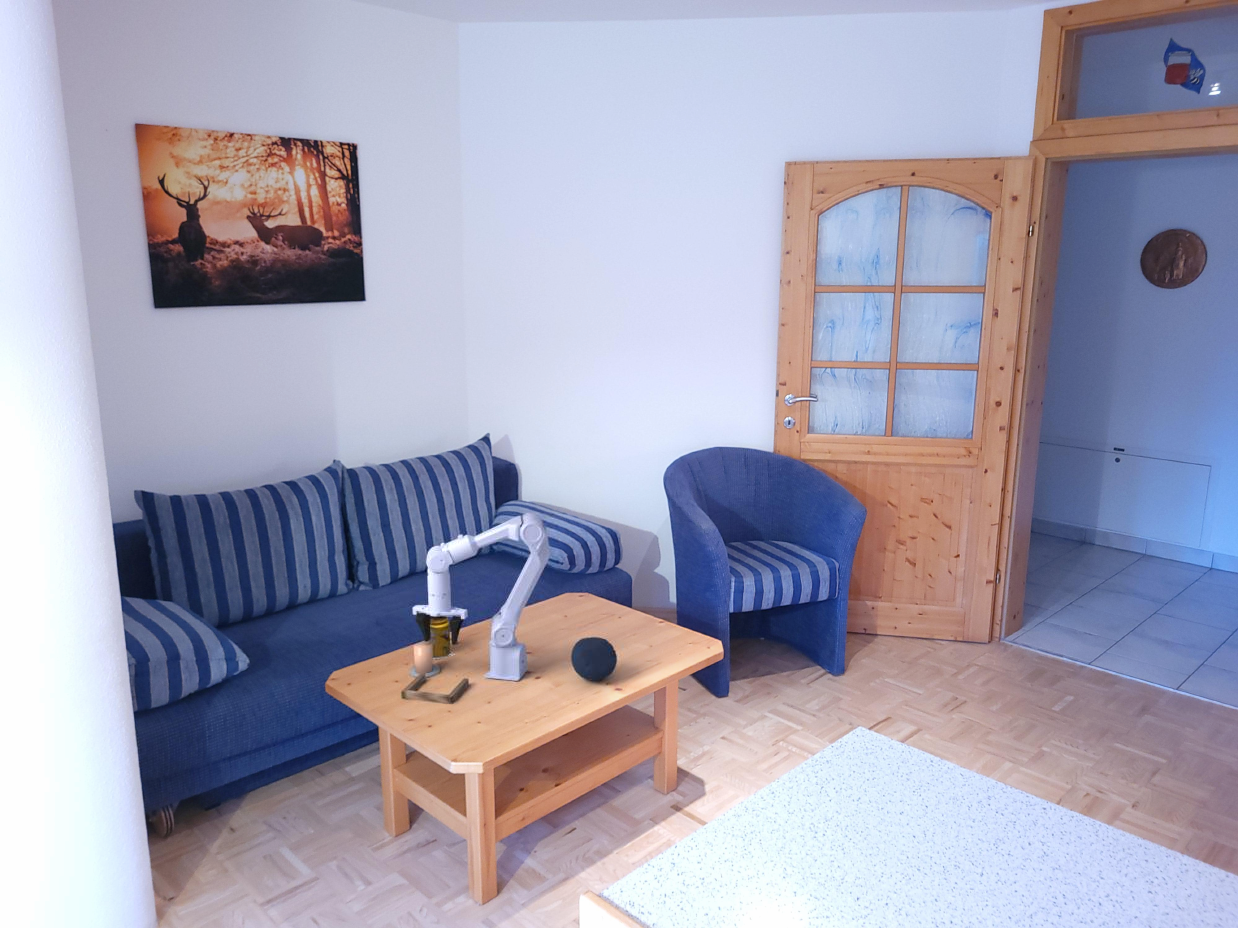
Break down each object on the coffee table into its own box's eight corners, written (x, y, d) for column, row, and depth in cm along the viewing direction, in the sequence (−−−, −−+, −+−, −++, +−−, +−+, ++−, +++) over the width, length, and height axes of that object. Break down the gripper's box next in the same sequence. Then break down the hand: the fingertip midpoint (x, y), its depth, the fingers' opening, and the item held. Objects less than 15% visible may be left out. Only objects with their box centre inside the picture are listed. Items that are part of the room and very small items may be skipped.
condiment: (455, 655, 261) (454, 614, 259) (427, 661, 257) (425, 620, 254) (445, 646, 267) (443, 606, 265) (417, 653, 263) (415, 612, 260)
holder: (468, 685, 242) (468, 678, 242) (451, 703, 231) (451, 697, 231) (420, 679, 245) (420, 673, 245) (401, 698, 234) (401, 691, 234)
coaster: (444, 667, 253) (444, 665, 253) (432, 679, 245) (432, 677, 245) (417, 664, 255) (417, 662, 255) (404, 676, 247) (404, 674, 247)
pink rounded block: (422, 662, 254) (421, 638, 253) (439, 664, 253) (438, 640, 252) (411, 672, 248) (410, 648, 246) (428, 674, 247) (427, 649, 245)
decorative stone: (561, 679, 246) (561, 643, 244) (592, 665, 255) (592, 630, 253) (594, 691, 238) (594, 655, 236) (624, 677, 247) (625, 641, 245)
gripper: (406, 595, 240) (408, 644, 243) (459, 599, 237) (460, 650, 239) (418, 586, 247) (420, 634, 249) (469, 590, 244) (471, 639, 246)
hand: (441, 641), depth 245 cm, fingers open, 7 cm apart
